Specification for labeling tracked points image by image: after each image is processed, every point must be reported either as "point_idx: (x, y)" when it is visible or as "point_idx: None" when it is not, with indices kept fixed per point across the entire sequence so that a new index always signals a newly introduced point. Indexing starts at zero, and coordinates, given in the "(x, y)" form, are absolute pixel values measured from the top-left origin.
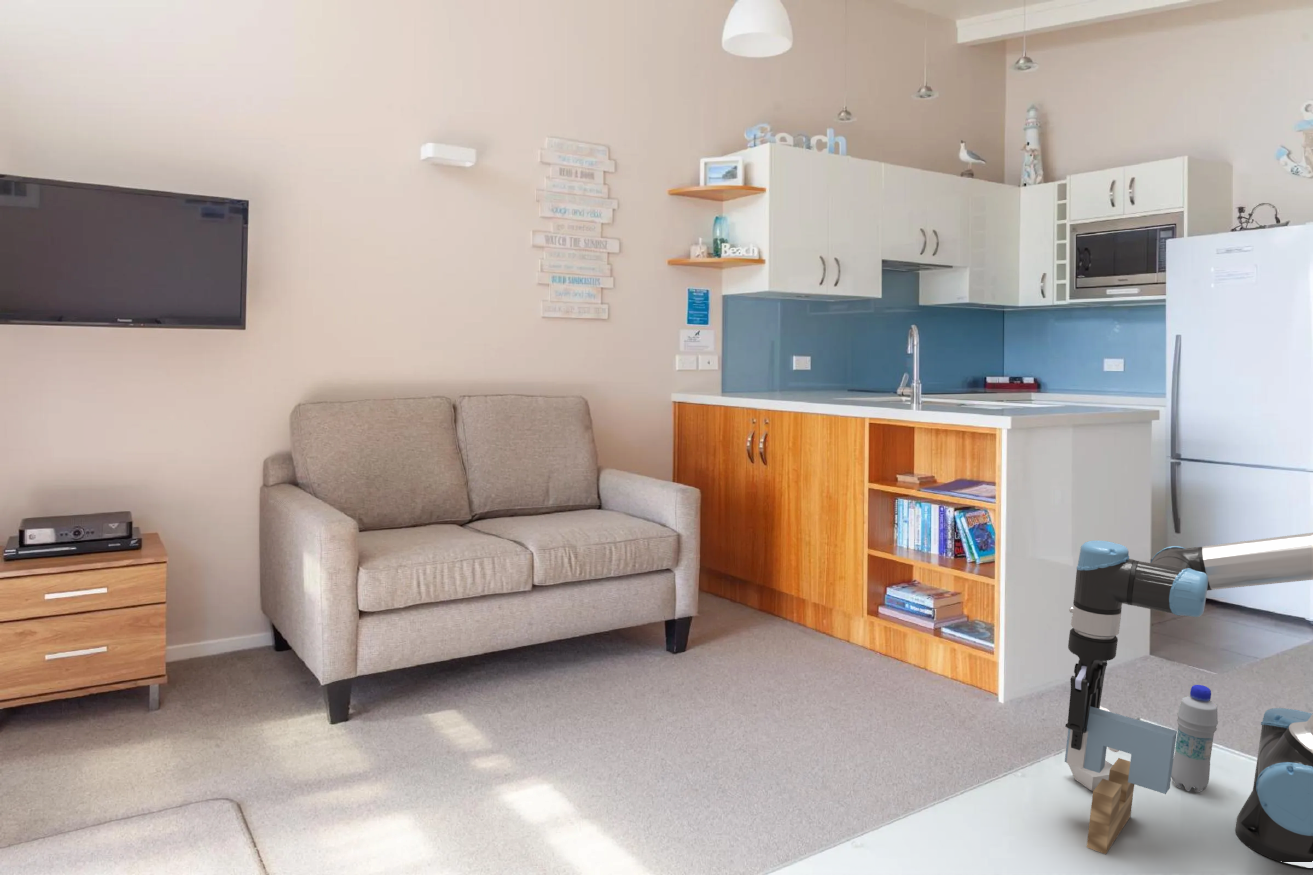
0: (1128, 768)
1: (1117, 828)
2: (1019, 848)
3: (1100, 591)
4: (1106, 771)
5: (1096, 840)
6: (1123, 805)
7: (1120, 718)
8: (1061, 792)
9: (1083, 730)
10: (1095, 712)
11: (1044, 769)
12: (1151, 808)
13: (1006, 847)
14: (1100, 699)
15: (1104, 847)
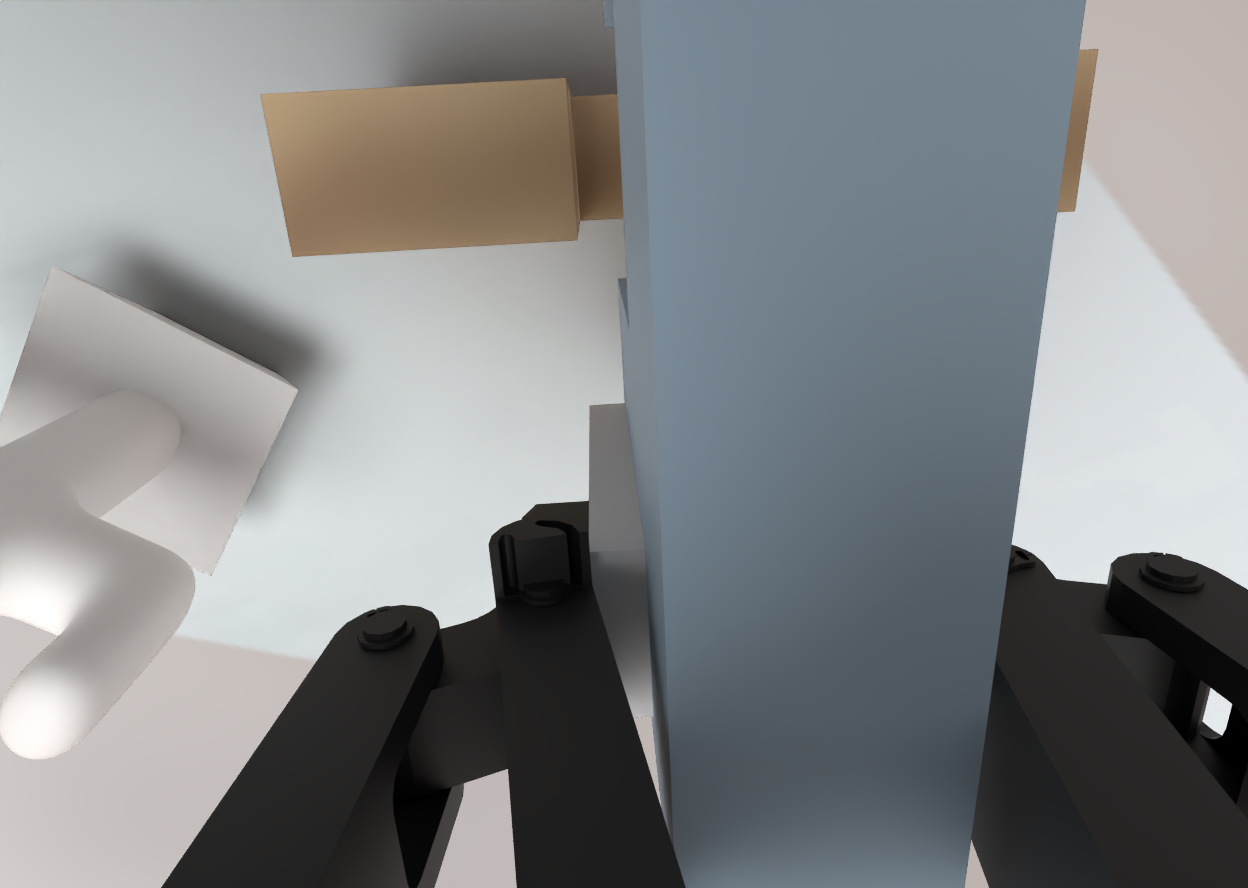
0: (427, 122)
1: None
2: (1100, 415)
3: None
4: (151, 355)
5: None
6: (615, 94)
7: (876, 198)
8: (433, 473)
9: (1179, 561)
10: (905, 645)
11: (268, 612)
12: (181, 50)
13: (1125, 457)
14: (260, 782)
15: None
